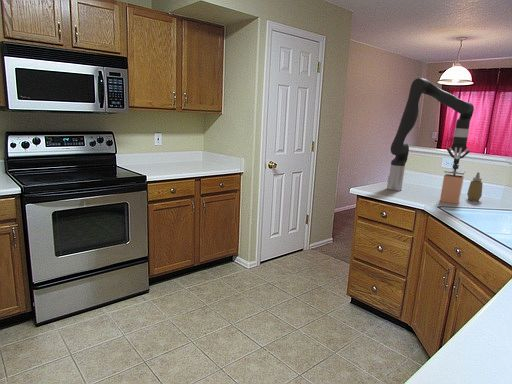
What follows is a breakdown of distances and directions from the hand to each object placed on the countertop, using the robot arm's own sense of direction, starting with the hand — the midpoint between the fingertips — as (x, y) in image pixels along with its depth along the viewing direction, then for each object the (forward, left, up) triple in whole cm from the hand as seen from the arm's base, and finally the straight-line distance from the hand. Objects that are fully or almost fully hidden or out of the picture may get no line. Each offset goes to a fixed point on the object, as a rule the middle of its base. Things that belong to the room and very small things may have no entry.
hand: (455, 164), depth 224 cm
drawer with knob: (0, 0, -20) cm, 20 cm away
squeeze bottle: (+12, +16, -23) cm, 31 cm away
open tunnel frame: (0, 0, -23) cm, 23 cm away
